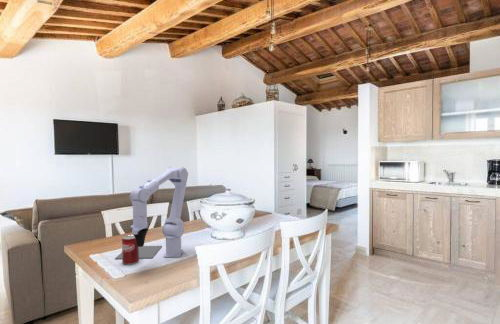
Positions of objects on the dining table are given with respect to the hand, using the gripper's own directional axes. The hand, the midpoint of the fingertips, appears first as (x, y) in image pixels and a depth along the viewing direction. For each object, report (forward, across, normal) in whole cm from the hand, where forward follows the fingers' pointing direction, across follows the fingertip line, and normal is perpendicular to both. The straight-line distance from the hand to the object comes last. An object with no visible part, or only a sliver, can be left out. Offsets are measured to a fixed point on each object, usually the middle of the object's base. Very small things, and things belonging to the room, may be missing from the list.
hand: (140, 246), depth 129 cm
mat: (+10, -22, -8) cm, 26 cm away
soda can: (+11, -9, -8) cm, 16 cm away
